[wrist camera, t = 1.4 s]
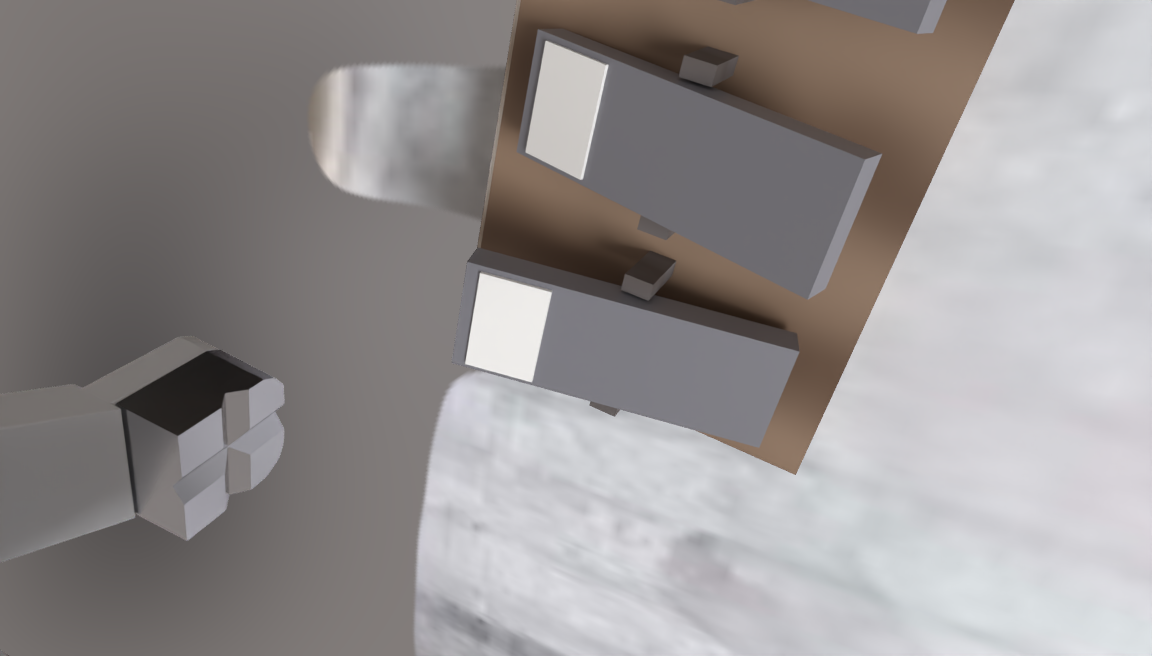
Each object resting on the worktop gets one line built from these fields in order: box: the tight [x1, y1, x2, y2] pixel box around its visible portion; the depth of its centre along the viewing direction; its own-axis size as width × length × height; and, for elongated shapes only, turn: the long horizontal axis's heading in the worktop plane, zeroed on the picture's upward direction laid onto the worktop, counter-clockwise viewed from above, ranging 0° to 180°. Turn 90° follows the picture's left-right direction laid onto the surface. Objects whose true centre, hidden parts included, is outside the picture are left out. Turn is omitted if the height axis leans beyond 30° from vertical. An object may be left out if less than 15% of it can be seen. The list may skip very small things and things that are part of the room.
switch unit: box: [477, 0, 1015, 475], centre depth 26 cm, size 21×14×5 cm
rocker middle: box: [516, 29, 882, 300], centre depth 23 cm, size 4×11×1 cm, turn 77°
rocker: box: [452, 248, 800, 448], centre depth 27 cm, size 4×11×1 cm, turn 77°
